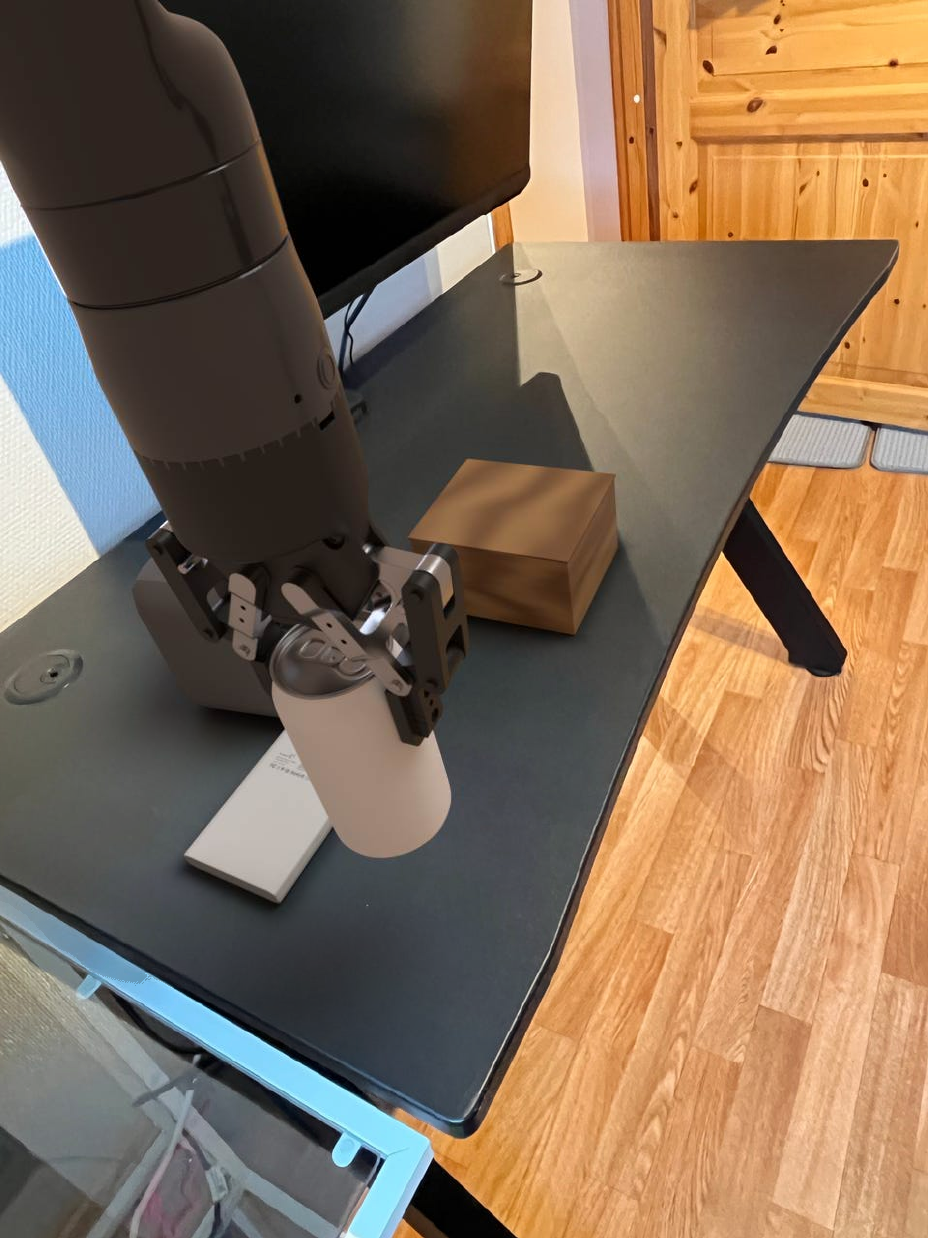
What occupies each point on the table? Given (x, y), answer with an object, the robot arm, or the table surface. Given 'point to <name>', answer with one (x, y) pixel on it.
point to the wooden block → (525, 540)
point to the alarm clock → (198, 650)
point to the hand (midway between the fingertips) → (356, 713)
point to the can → (357, 746)
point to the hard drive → (265, 827)
